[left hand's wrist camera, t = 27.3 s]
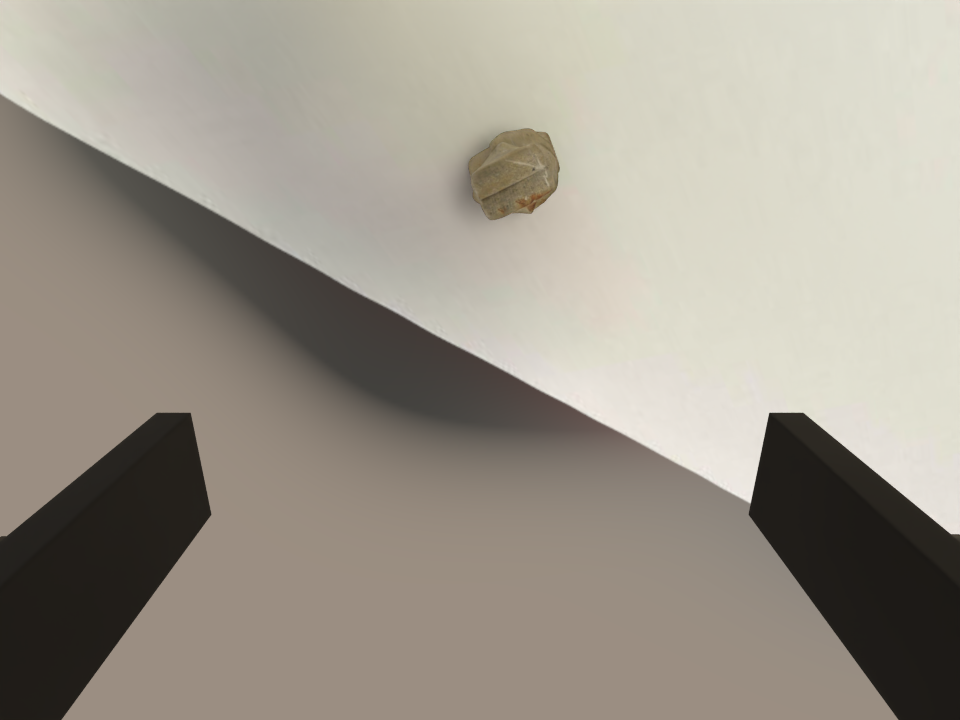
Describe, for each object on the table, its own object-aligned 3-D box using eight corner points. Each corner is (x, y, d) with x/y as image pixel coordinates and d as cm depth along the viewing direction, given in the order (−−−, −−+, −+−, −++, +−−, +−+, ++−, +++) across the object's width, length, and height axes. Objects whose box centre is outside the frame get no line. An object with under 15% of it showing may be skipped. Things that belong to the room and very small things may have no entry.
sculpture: (461, 150, 48) (453, 151, 34) (540, 118, 48) (565, 106, 34) (485, 215, 50) (486, 241, 36) (561, 185, 50) (593, 200, 36)
